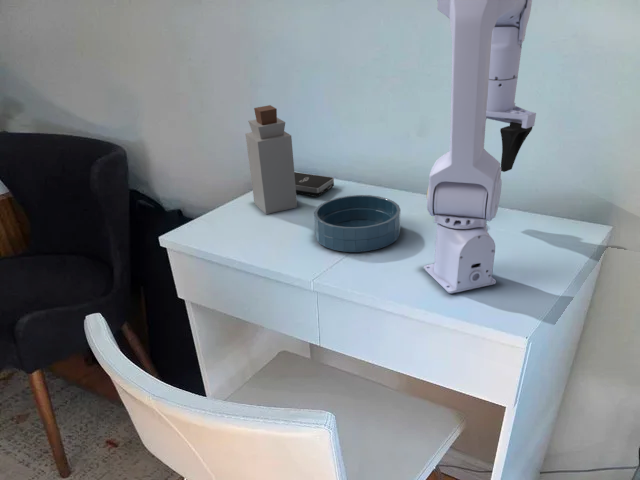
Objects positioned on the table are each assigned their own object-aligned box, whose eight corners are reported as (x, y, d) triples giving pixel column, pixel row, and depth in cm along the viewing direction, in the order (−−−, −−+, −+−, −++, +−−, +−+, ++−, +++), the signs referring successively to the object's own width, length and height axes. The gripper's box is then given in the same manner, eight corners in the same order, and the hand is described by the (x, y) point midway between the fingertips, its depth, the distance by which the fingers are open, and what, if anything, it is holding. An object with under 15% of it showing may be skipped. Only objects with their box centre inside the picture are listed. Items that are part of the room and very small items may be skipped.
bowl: (413, 243, 106) (414, 218, 103) (330, 260, 103) (329, 234, 100) (380, 213, 117) (380, 189, 114) (305, 227, 114) (303, 203, 111)
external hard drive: (318, 198, 125) (317, 188, 124) (274, 191, 130) (273, 181, 128) (335, 187, 129) (334, 177, 128) (291, 180, 134) (291, 171, 133)
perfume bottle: (254, 203, 125) (242, 107, 113) (284, 196, 127) (275, 101, 115) (266, 214, 120) (254, 115, 109) (297, 207, 122) (289, 109, 111)
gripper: (553, 77, 94) (538, 168, 102) (480, 66, 103) (472, 151, 111) (524, 86, 91) (511, 179, 99) (451, 74, 100) (445, 160, 108)
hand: (488, 165), depth 105 cm, fingers open, 7 cm apart
